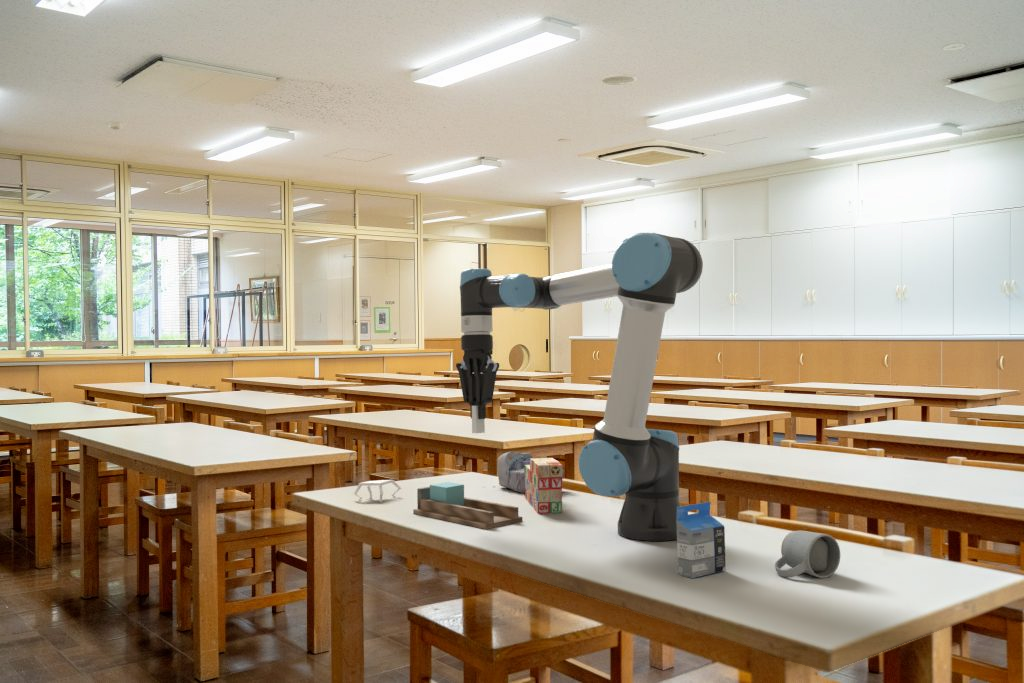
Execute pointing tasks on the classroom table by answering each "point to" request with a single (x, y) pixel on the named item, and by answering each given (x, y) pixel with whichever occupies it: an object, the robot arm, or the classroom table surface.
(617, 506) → the classroom table surface
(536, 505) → the stack of blocks
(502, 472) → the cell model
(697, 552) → the label tape box
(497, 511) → the chute
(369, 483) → the white bent leg stand
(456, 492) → the block
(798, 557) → the ceramic mug
